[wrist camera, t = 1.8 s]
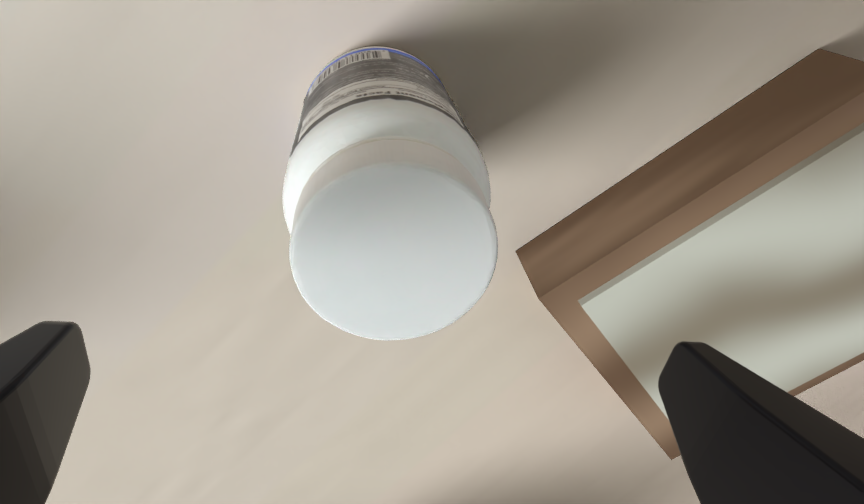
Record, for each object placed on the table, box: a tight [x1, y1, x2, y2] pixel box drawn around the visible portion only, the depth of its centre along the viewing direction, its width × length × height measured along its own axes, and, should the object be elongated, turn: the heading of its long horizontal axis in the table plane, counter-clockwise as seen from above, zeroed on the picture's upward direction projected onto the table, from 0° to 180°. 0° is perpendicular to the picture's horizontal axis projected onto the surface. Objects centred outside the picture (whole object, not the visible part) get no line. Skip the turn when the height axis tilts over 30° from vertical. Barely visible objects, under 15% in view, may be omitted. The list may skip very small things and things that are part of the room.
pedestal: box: [516, 49, 864, 460], centre depth 21 cm, size 12×12×3 cm
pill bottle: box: [282, 46, 498, 340], centre depth 14 cm, size 5×5×8 cm
